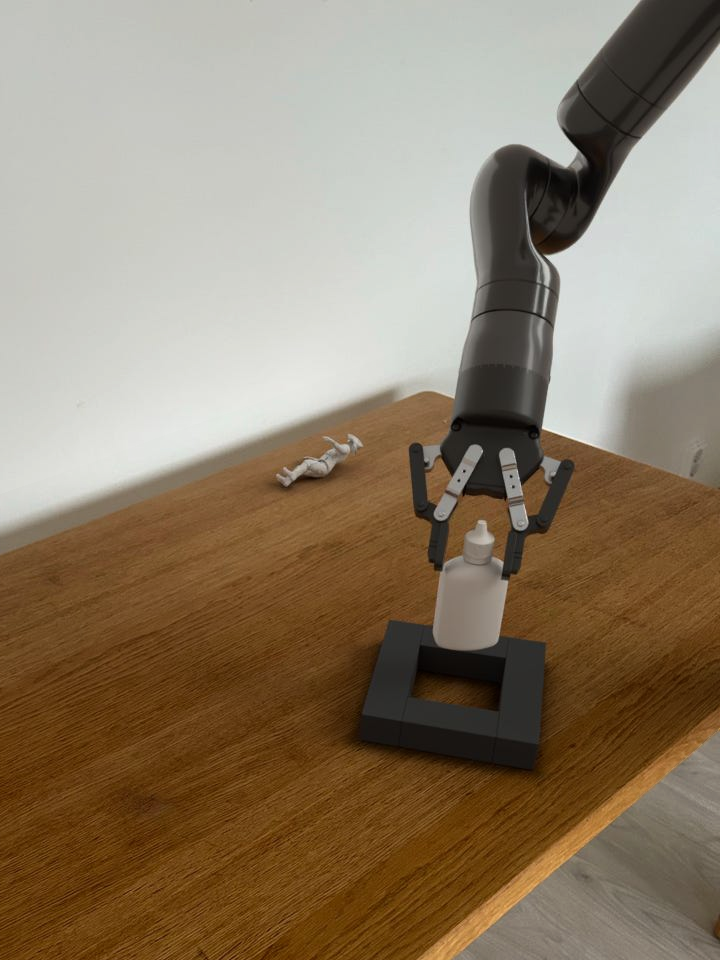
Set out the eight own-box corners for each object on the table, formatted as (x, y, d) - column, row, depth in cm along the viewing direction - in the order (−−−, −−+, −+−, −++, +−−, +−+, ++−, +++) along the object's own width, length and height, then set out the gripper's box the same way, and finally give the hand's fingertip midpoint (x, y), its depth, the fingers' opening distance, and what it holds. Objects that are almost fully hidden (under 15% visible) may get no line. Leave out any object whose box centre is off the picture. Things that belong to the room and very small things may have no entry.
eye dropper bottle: (441, 619, 92) (456, 503, 85) (502, 635, 90) (523, 517, 83) (426, 645, 89) (440, 526, 82) (489, 662, 87) (509, 542, 80)
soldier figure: (266, 483, 132) (327, 430, 136) (291, 511, 132) (351, 458, 136) (287, 463, 125) (350, 408, 129) (312, 493, 125) (375, 437, 129)
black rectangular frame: (541, 667, 98) (546, 642, 96) (533, 770, 86) (538, 744, 84) (386, 643, 101) (389, 619, 100) (359, 740, 90) (361, 714, 88)
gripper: (416, 352, 84) (382, 551, 82) (597, 368, 81) (566, 575, 78) (419, 389, 91) (388, 572, 89) (585, 405, 88) (557, 595, 86)
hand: (472, 572), depth 84 cm, fingers closed on eye dropper bottle, 5 cm apart
